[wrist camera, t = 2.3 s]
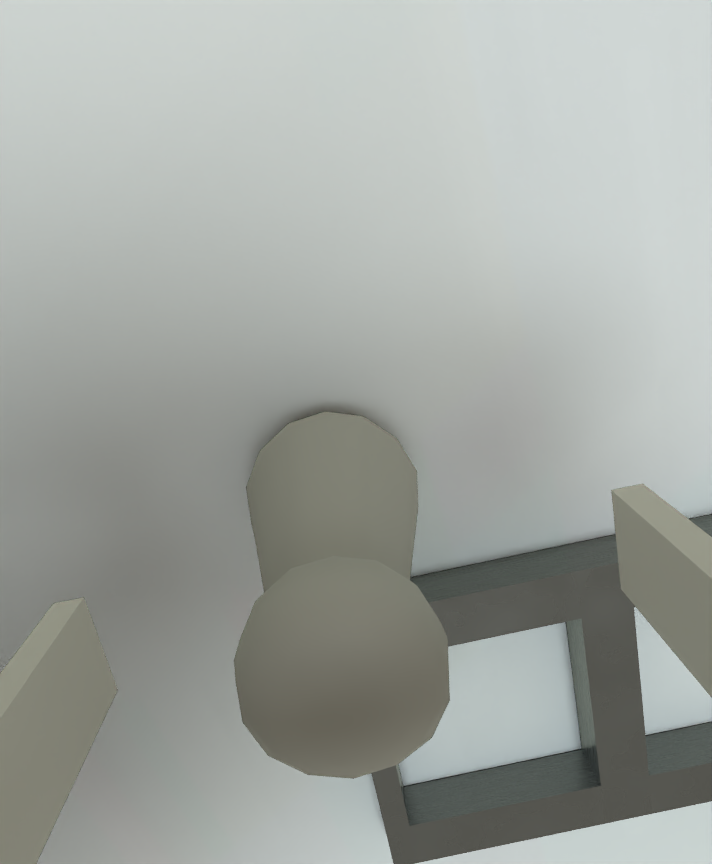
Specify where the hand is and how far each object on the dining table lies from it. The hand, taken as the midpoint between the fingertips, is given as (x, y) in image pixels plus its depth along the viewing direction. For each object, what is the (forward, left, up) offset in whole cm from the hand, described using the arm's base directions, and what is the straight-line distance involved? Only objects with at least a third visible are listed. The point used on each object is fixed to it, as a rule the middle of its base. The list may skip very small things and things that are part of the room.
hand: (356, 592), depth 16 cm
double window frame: (+9, -11, -9) cm, 16 cm away
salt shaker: (0, 0, -9) cm, 9 cm away
